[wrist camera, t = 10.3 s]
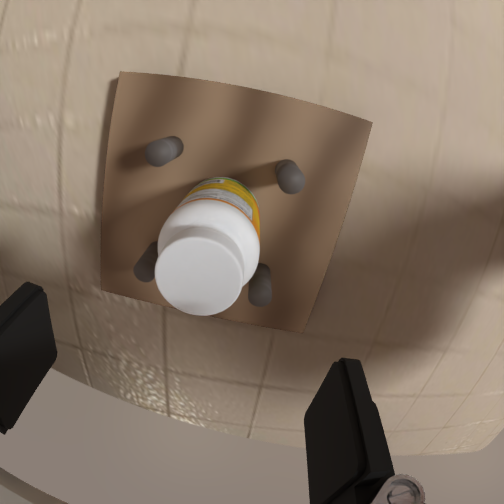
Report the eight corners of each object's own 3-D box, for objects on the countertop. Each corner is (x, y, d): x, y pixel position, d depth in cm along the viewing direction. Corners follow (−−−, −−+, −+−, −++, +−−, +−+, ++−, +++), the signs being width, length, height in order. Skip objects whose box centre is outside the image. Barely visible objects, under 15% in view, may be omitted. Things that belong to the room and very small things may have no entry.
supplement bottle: (235, 260, 24) (221, 345, 15) (172, 224, 23) (123, 294, 14) (274, 200, 22) (284, 262, 13) (207, 161, 21) (169, 197, 12)
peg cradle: (365, 121, 21) (392, 124, 16) (300, 322, 28) (307, 360, 24) (127, 73, 20) (97, 66, 15) (107, 281, 27) (84, 312, 23)
